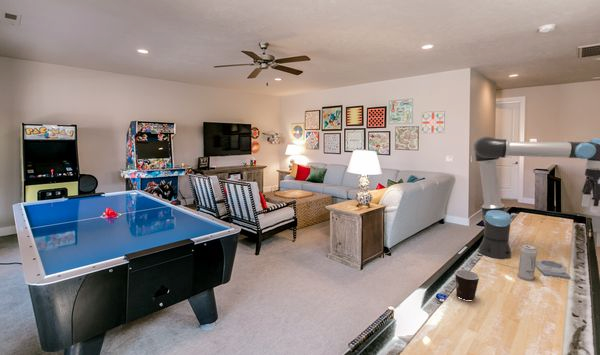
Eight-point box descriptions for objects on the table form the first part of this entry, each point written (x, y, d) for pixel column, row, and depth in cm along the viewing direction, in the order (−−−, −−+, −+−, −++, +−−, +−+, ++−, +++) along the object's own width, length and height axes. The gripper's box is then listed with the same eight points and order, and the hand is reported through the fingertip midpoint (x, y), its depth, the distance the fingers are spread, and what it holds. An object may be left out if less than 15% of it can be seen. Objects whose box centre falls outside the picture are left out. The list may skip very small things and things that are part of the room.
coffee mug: (455, 289, 132) (456, 267, 131) (478, 295, 127) (480, 273, 126) (450, 302, 123) (452, 278, 121) (475, 309, 118) (477, 284, 116)
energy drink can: (528, 282, 139) (532, 250, 136) (514, 276, 144) (518, 245, 142) (536, 279, 141) (540, 248, 139) (522, 273, 146) (526, 243, 144)
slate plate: (544, 275, 144) (544, 273, 144) (532, 263, 157) (533, 261, 157) (570, 279, 141) (570, 277, 141) (556, 266, 154) (556, 264, 154)
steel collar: (542, 272, 146) (543, 267, 145) (533, 263, 156) (534, 258, 155) (569, 275, 142) (570, 270, 142) (558, 266, 152) (559, 261, 152)
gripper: (616, 172, 144) (608, 216, 147) (596, 166, 166) (590, 205, 169) (594, 171, 148) (587, 213, 151) (578, 165, 169) (572, 203, 173)
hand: (589, 209), depth 160 cm, fingers open, 13 cm apart
